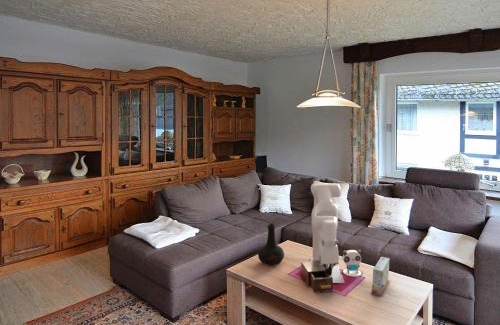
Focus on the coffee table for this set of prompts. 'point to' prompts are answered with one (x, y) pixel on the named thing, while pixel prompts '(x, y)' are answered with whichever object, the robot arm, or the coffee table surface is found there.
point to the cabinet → (310, 270)
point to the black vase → (271, 249)
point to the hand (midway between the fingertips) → (328, 274)
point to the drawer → (321, 282)
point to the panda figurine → (352, 262)
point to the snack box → (380, 276)
